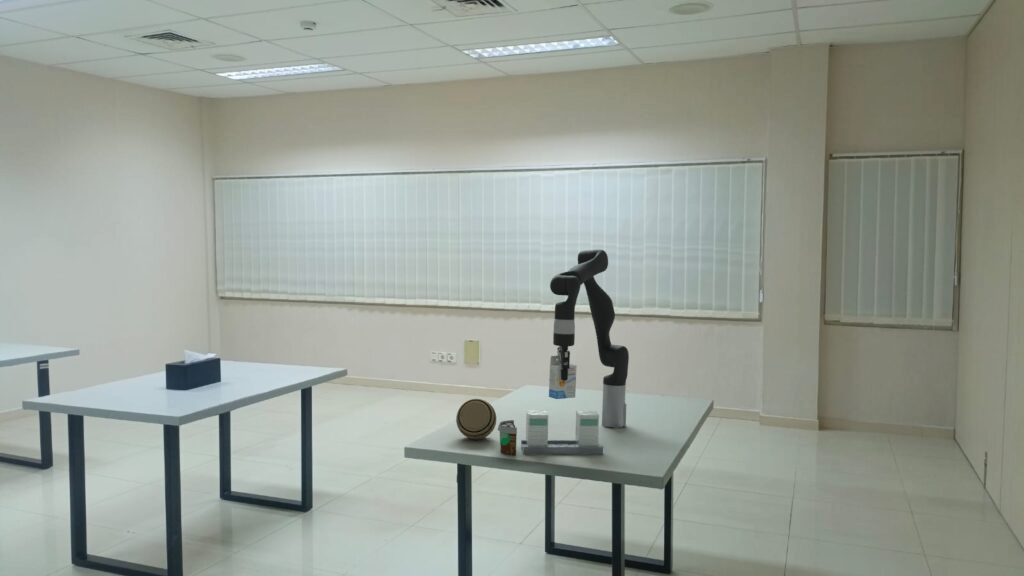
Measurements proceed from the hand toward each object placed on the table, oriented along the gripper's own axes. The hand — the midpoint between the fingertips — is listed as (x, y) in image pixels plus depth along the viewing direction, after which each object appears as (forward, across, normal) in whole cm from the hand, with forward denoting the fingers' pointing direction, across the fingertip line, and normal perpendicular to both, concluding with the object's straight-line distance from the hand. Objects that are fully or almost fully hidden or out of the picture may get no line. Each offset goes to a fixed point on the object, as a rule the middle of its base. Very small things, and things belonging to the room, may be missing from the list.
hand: (562, 378), depth 261 cm
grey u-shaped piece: (+26, 0, 0) cm, 26 cm away
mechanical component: (+26, +16, +30) cm, 43 cm away
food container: (+26, -2, +20) cm, 33 cm away
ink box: (+7, 0, 0) cm, 7 cm away
